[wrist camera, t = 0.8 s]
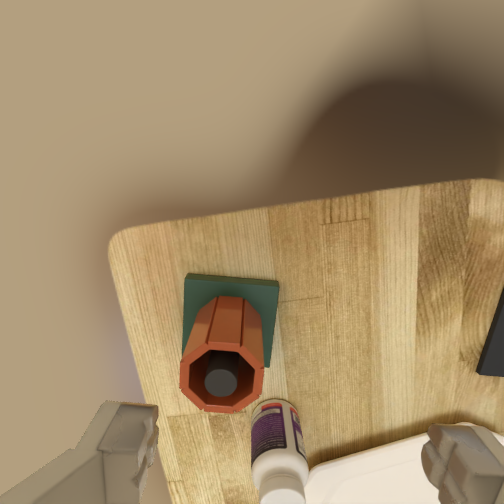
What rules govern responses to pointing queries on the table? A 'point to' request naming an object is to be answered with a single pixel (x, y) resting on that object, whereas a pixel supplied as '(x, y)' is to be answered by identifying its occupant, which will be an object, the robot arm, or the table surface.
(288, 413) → the pill bottle
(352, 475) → the plate
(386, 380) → the table surface
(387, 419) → the table surface
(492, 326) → the mat
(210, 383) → the post stand
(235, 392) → the orange hollow octagonal tube
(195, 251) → the table surface
